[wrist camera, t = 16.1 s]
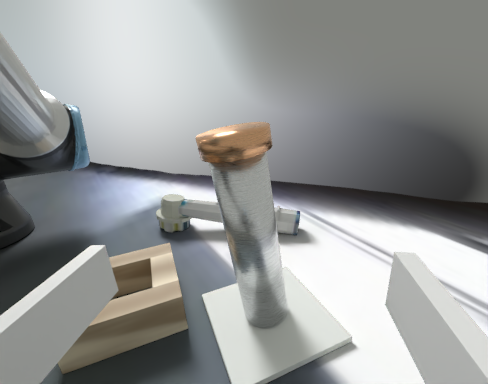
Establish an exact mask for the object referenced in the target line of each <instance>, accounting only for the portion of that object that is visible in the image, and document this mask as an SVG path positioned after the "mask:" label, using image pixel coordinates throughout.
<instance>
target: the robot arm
mask: <svg viewBox="0 0 488 384" xmlns="http://www.w3.org/2000/svg"><path fill="white" fill-rule="evenodd" d="M89 162H90V158H89V154H88V149H87V144H86V139H85V134H84V129H83V125H82V119H81V115H80V110H79V108H78V107H77V106H75V105H68V104H64V105H62V104H61V103H60V102H59V101H58V100H57V99H56V98H54V97H53V96H52V95H50V94H48V93H46V92H44V91H41V90H40V89H39V88H38V86H37V85H36V84H35V82H34V81H33V79H32V78H31V76H30V75H29V73H28V72H27V70H26V69H25V67H24V66H23V64H22V63H21V62H20V60H19V59H18V57H17V56H16V54H15V53H14V51H13V50H12V49H11V47H10V46H9V44H8V43H7V41H6V40H5V38H4V37H3V35H2V34H1V33H0V249H1V248H3V247H5V246H8V245H10V244H12V243H14V242H16V241H18V240H20V239H21V238H23V237H25V236H26V235H28V234H29V233H30V232H31V231H32V230H33V229H34V223H33V220H32V218H31V216H30V214H29V213H28V212H27V211H26V210H25V209H24V208H23V207H22V206H21V205H20V204H19V203H18V202H17V201H16V200H15V198H14V197H13V196H12V195H11V194H10V193H9V192H8V190H7V188H6V185H5V183H4V181H3V180H4V179H11V178H17V177H24V176H31V175H38V174H45V173H52V172H59V171H66V170H68V171H72V170H74V169H78V168H83V167H86V166H87V165H88V164H89ZM118 291H119V290H118V287H117V284H116V280H115V277H114V273H113V270H112V267H111V263H110V260H109V257H108V253H107V250H106V246H105V245H91V246H89V247H88V248H87V249H86V250H84V251H83V252H82V253H80V254H79V255H78V256H77V257H75V258H74V259H73V260H71V261H70V262H69V263H68V264H66V265H65V266H64V267H62V268H61V269H60V270H58V271H57V272H56V273H55V274H53V275H52V276H51V277H49V278H48V279H47V280H46V281H44V282H43V283H42V284H40V285H39V286H38V287H37V288H35V289H34V290H33V291H31V292H30V293H29V294H28V295H26V296H25V297H24V298H22V299H21V300H20V301H19V302H17V303H16V304H15V305H13V306H12V307H11V308H9V309H8V310H7V311H6V312H4V313H2V314H1V315H0V384H40V383H41V382H42V381H43V379H44V378H45V377H46V376H47V375H48V373H49V372H50V371H51V370H52V369H53V368H54V366H55V365H56V364H57V363H58V362H59V360H60V359H61V358H62V357H63V356H64V355H65V353H66V352H67V351H68V350H69V349H70V347H71V346H72V345H73V344H74V343H75V341H76V340H77V339H78V338H79V337H80V336H81V334H82V333H83V332H84V331H85V330H86V328H87V327H88V326H89V325H90V324H91V323H92V321H93V320H94V319H95V318H96V317H97V315H98V314H99V313H100V312H101V311H102V309H103V308H104V307H105V306H106V305H107V304H108V302H109V301H110V300H111V299H112V298H113V296H114V295H115V294H116V293H117V292H118ZM385 305H386V307H387V309H388V311H389V313H390V315H391V317H392V319H393V321H394V323H395V325H396V327H397V329H398V331H399V333H400V335H401V337H402V339H403V340H404V342H405V344H406V346H407V348H408V350H409V352H410V354H411V356H412V358H413V360H414V362H415V364H416V366H417V368H418V370H419V372H420V374H421V376H422V378H423V380H424V382H425V384H488V337H487V336H486V334H485V333H484V332H483V331H482V330H481V329H480V328H479V326H478V325H477V324H476V323H475V322H474V321H473V319H472V318H471V317H470V316H469V315H468V314H467V313H466V311H465V310H464V309H463V308H462V307H461V306H460V304H459V303H458V302H457V301H456V300H455V299H454V298H453V296H452V295H451V294H450V293H449V292H448V291H447V289H446V288H445V287H444V286H443V285H442V284H441V283H440V281H439V280H438V279H437V278H436V277H435V276H434V274H433V273H432V272H431V271H430V270H429V269H428V268H427V266H426V265H425V264H424V263H423V262H422V261H421V259H420V258H419V257H418V256H417V255H416V254H415V253H401V252H394V257H393V263H392V269H391V275H390V281H389V287H388V292H387V298H386V304H385Z"/></svg>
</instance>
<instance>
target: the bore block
mask: <svg viewBox="0 0 488 384" xmlns="http://www.w3.org/2000/svg"><path fill="white" fill-rule="evenodd" d="M109 260H110V263H111V267H112V270H113V273H114V277H115V280H116V284H117V287H118V290H119V291H118V292H117V293H116V294H115V295H114V296H113V298H115V297H119V296H122V295H125V294H129V293H132V292H136V291H139V290H142V289H146V288H149V287H152V286H153V288H150V289H147V290H143V291H140V292H137V293H133V294H130V295H126V296H123V297H120V298H116V299H113V300H110V301H109V302H108V304H107V305H106V306H105V307H104V308H103V309H102V311H101V312H100V313H99V314H98V315H97V317H96V318H95V319H94V320H93V321H92V323H91V324H90V325H89V326H88V327H87V328H86V330H85V331H84V332H83V333H82V334H81V336H80V337H79V338H78V339H77V340H76V341H75V343H74V344H73V345H72V346H71V347H70V349H69V350H68V351H67V352H66V353H65V355H64V356H63V357H62V358H61V359H60V360H59V362H58V365H59V367H60V369H61V372H62V374H65V373H68V372H71V371H74V370H76V369H79V368H82V367H84V366H87V365H90V364H93V363H95V362H98V361H101V360H104V359H106V358H109V357H112V356H115V355H117V354H120V353H123V352H125V351H128V350H131V349H134V348H136V347H139V346H142V345H145V344H147V343H150V342H153V341H156V340H158V339H161V338H164V337H166V336H169V335H172V334H175V333H177V332H180V331H183V330H186V329H188V325H187V320H186V315H185V309H184V304H183V299H182V294H181V290H180V285H179V281H178V277H177V272H176V268H175V264H174V259H173V255H172V251H171V246H170V243H166V244H162V245H158V246H154V247H150V248H146V249H142V250H138V251H134V252H130V253H126V254H122V255H117V256H113V257H109Z"/></svg>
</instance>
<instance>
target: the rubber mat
mask: <svg viewBox="0 0 488 384" xmlns="http://www.w3.org/2000/svg"><path fill="white" fill-rule="evenodd" d="M282 269H283V276H284V283H285V290H286V297H287V305H288V313H287V316H286V318H285V319H284V320H283V322H282V323H280V324H279V325H277V326H275V327H273V328H268V329H262V328H257V327H255V326H253V325H251V324H250V323H249V322H248V321H247V319H246V317H245V313H244V309H243V305H242V301H241V296H240V292H239V288H238V284H237V283H236V284H233V285H230V286H227V287H224V288H221V289H218V290H214V291H211V292H208V293H205V294H202V299H203V302H204V305H205V308H206V311H207V314H208V317H209V320H210V323H211V326H212V329H213V332H214V335H215V338H216V341H217V344H218V347H219V350H220V353H221V356H222V359H223V362H224V365H225V368H226V371H227V374H228V377H229V380H230V383H231V384H266V383H268V382H270V381H272V380H274V379H276V378H278V377H280V376H282V375H284V374H286V373H288V372H290V371H292V370H294V369H297V368H299V367H301V366H303V365H305V364H307V363H309V362H311V361H313V360H315V359H317V358H319V357H321V356H323V355H325V354H327V353H329V352H331V351H333V350H335V349H337V348H339V347H341V346H344V345H346V344H348V343H350V342H352V336H351V335H350V334H349V333H348V332H347V330H346V329H345V328H344V327H343V326H342V325H341V324H340V323H339V322H338V321H337V320H336V319H335V318H334V317H333V316H332V315H331V313H330V312H329V311H328V310H327V309H326V308H325V307H324V306H323V305H322V304H321V303H320V302H319V301H318V300H317V299H316V297H315V296H314V295H313V294H312V293H311V292H310V291H309V290H308V289H307V288H306V287H305V286H304V285H303V284H302V283H301V282H300V280H299V279H298V278H297V277H296V276H295V275H294V274H293V273H292V272H291V271H290V270H289V269H288V268H287V267H285V268H282Z"/></svg>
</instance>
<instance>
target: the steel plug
mask: <svg viewBox="0 0 488 384" xmlns="http://www.w3.org/2000/svg"><path fill="white" fill-rule="evenodd" d="M196 142H197V146H198V150H199V154H200V158H201V160H202V161H205V162H209V166H210V170H211V174H212V179H213V183H214V187H215V191H216V195H217V200H218V204H219V208H220V212H221V216H222V221H223V225H224V229H225V233H226V237H227V242H228V246H229V250H230V254H231V258H232V263H233V267H234V271H235V275H236V280H237V284H238V288H239V292H240V296H241V301H242V305H243V309H244V313H245V317H246V319H247V321H248V322H249V323H250V324H251V325H253V326H255V327H257V328H262V329H268V328H273V327H275V326H277V325H279V324H280V323H282V322H283V320H284V319H285V318H286V316H287V313H288V305H287V297H286V290H285V283H284V276H283V269H282V261H281V254H280V247H279V240H278V233H277V225H276V218H275V211H274V204H273V196H272V189H271V182H270V175H269V168H268V160H267V154H266V151H268V150H269V149H271V147H272V139H271V131H270V124H269V123H266V122H251V123H242V124H236V125H230V126H226V127H221V128H217V129H213V130H210V131H207V132H204V133H202V134H200V135H198V136H197V137H196Z"/></svg>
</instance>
